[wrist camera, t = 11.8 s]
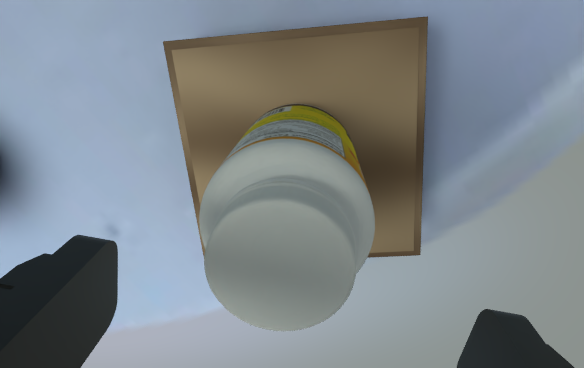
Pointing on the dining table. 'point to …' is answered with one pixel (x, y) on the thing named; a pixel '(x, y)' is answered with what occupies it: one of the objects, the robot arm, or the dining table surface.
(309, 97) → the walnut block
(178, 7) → the dining table surface
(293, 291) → the supplement bottle
